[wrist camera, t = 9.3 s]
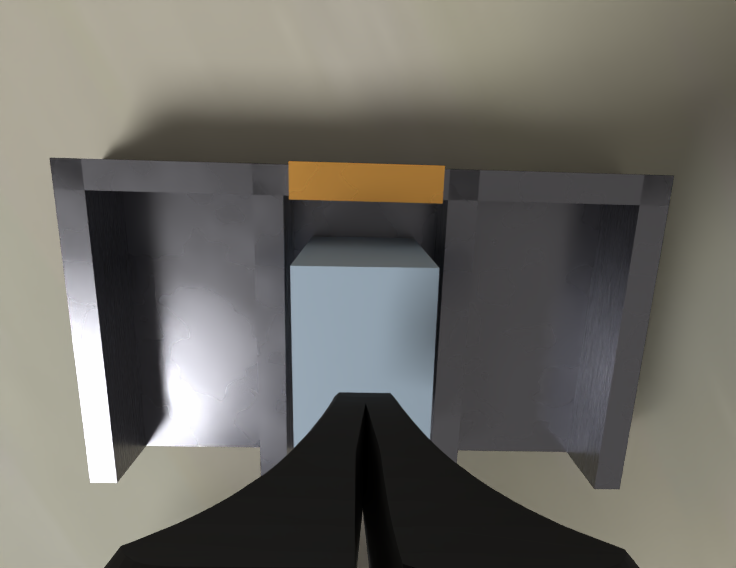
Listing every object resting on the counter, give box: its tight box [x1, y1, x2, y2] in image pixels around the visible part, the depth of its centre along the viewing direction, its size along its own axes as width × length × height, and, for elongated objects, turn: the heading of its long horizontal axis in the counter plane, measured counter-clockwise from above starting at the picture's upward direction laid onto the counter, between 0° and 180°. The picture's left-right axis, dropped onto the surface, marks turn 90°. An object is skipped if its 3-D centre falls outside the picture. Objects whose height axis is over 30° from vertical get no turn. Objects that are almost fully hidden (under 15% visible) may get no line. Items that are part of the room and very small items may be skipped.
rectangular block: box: [290, 236, 439, 447], centre depth 16 cm, size 7×4×6 cm, turn 179°
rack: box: [50, 158, 674, 489], centre depth 18 cm, size 12×21×4 cm, turn 88°
